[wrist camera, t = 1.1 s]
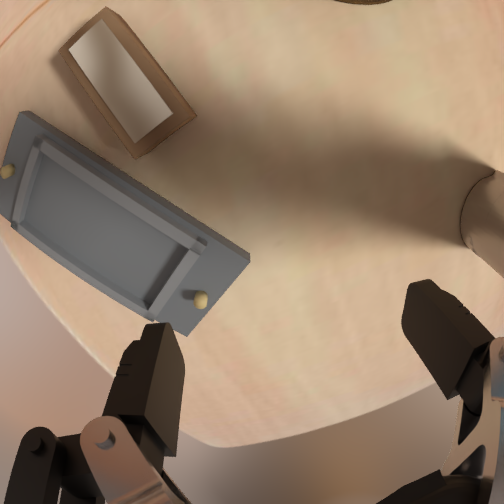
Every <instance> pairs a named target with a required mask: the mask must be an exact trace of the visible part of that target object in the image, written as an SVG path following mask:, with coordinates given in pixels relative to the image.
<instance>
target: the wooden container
mask: <svg viewBox="0 0 504 504" xmlns="http://www.w3.org/2000/svg"><path fill="white" fill-rule="evenodd" d="M337 1H341V2H346V3H352V4H363V5H372V4H381V3H385V2H389V1H392V0H337Z"/></svg>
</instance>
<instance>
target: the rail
mask: <svg viewBox="0 0 504 504" xmlns="http://www.w3.org/2000/svg"><path fill="white" fill-rule="evenodd" d="M0 214H1V215H2V216H4V217H5V218H6V219H7V220H8V221H10V222H11V227H12V228H13V229H14V230H16V231H17V232H18V233H19V234H21V235H22V236H23V237H24V238H26V239H27V240H28V241H29V242H31V243H32V244H33V245H35V246H36V247H37V248H39V249H40V250H41V251H43V252H44V253H45V254H47V255H48V256H49V257H51V258H52V259H54V260H55V261H56V262H58V263H59V264H61V265H62V266H63V267H65V268H66V269H68V270H69V271H71V272H72V273H73V274H75V275H76V276H78V277H79V278H81V279H82V280H84V281H85V282H87V283H88V284H90V285H92V286H93V287H95V288H96V289H98V290H99V291H101V292H102V293H104V294H106V295H107V296H109V297H110V298H112V299H114V300H115V301H117V302H119V303H120V304H122V305H124V306H125V307H127V308H129V309H130V310H132V311H134V312H136V313H137V314H139V315H141V316H143V317H144V318H146V319H148V320H150V321H151V322H153V321H154V320H156V321H158V322H160V323H164V322H169V323H170V324H171V326H172V329H173V330H175V331H177V332H179V333H181V334H182V335H184V336H186V337H187V336H188V335H189V334H190V333H191V331H192V330H193V329H194V328H195V327H196V325H197V324H198V323H199V322H200V321H201V320H202V318H203V317H204V316H205V315H206V314H207V313H208V311H209V310H210V309H211V308H212V307H213V305H214V304H215V303H216V302H217V301H218V300H219V298H220V297H221V296H222V295H223V294H224V292H225V291H226V290H227V289H228V288H229V287H230V285H231V284H232V283H233V282H234V281H235V279H236V278H237V277H238V276H239V275H240V274H241V272H242V271H243V270H244V269H245V268H246V266H247V265H248V264H249V263H250V253H248V252H246V251H245V250H243V249H242V248H240V247H239V246H237V245H236V244H234V243H232V242H231V241H229V240H228V239H226V238H225V237H223V236H222V235H220V234H219V233H217V232H215V231H214V230H212V229H211V228H209V227H208V226H206V225H205V224H203V223H201V222H200V221H198V220H197V219H195V218H194V217H192V216H191V215H189V214H188V213H186V212H184V211H183V210H181V209H180V208H178V207H177V206H175V205H174V204H172V203H171V202H169V201H167V200H166V199H164V198H163V197H161V196H160V195H158V194H157V193H155V192H154V191H152V190H150V189H149V188H147V187H146V186H144V185H143V184H141V183H140V182H138V181H137V180H135V179H133V178H132V177H130V176H129V175H127V174H126V173H124V172H123V171H121V170H120V169H118V168H116V167H115V166H113V165H112V164H110V163H109V162H107V161H106V160H104V159H103V158H101V157H100V156H98V155H96V154H95V153H93V152H92V151H90V150H89V149H87V148H86V147H84V146H83V145H81V144H80V143H78V142H76V141H75V140H73V139H72V138H70V137H69V136H67V135H66V134H64V133H63V132H61V131H60V130H58V129H57V128H55V127H53V126H52V125H50V124H49V123H47V122H46V121H44V120H43V119H41V118H40V117H38V116H37V115H35V114H34V113H32V112H30V111H23V112H19V115H18V118H17V120H16V123H15V126H14V129H13V132H12V135H11V138H10V141H9V144H8V148H7V151H6V154H5V158H4V162H3V165H2V168H1V170H0Z"/></svg>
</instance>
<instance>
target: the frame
mask: <svg viewBox="0 0 504 504" xmlns="http://www.w3.org/2000/svg"><path fill="white" fill-rule="evenodd" d="M59 52H60V54H61V55H62V57H63V58H64V60H65V61H66V63H67V64H68V66H69V67H70V69H71V70H72V72H73V73H74V75H75V76H76V78H77V79H78V81H79V82H80V84H81V85H82V87H83V88H84V89H85V91H86V92H87V94H88V95H89V97H90V98H91V99H92V101H93V102H94V104H95V105H96V107H97V108H98V109H99V111H100V112H101V114H102V115H103V116H104V118H105V119H106V121H107V122H108V123H109V125H110V126H111V128H112V129H113V130H114V132H115V133H116V135H117V136H118V137H119V139H120V140H121V141H122V143H123V144H124V146H125V147H126V148H127V150H128V151H129V152H130V154H131V155H132V156H133V158H134V159H137V158H139V157H141V156H143V155H145V154H147V153H148V152H150V151H151V150H152V149H153V148H155V147H156V146H157V145H158V144H160V143H161V142H162V141H164V140H165V139H166V138H168V137H169V136H170V135H172V134H173V133H174V132H176V131H177V130H178V129H180V128H181V127H182V126H184V125H185V124H186V123H188V122H189V121H191V120H192V119H194V118H195V117H196V116H197V115H196V114H195V113H194V111H193V110H192V109H191V107H190V106H189V104H188V103H187V102H186V100H185V99H184V98H183V96H182V95H181V94H180V92H179V91H178V89H177V88H176V87H175V85H174V84H173V83H172V81H171V80H170V79H169V77H168V76H167V75H166V73H165V72H164V71H163V69H162V68H161V67H160V65H159V64H158V63H157V62H156V60H155V59H154V58H153V56H152V55H151V54H150V52H149V51H148V50H147V48H146V47H145V46H144V45H143V43H142V42H141V41H140V39H139V38H138V37H137V36H136V34H135V33H134V32H133V31H132V29H131V28H130V27H129V25H128V24H127V23H126V22H125V20H124V19H123V18H122V17H121V16H120V15H118V14H117V13H115V12H114V11H112V10H111V9H109V8H108V7H105V8H103V9H102V10H101V11H100V12H99V13H97V14H96V15H95V16H94V17H93V18H92V19H91V20H89V21H88V22H87V23H86V24H85V25H84V26H83V27H82V28H81V29H80V30H79V31H77V32H76V33H75V34H74V35H73V36H72V37H71V38H70V39H69V40H68V41H67V42H66V43H65V44H64V45H63V46H62V47H61V49H60V50H59Z"/></svg>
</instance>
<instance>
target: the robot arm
mask: <svg viewBox="0 0 504 504" xmlns="http://www.w3.org/2000/svg"><path fill="white" fill-rule="evenodd" d="M461 235H462V239H463V241H464V243H465V244H466V245H467V246H468V247H469V248H470V249H471V250H472V251H473V252H474V253H475V254H476V255H478V256H479V257H480V258H482V259H483V260H484V261H485V262H486V263H487V264H488V265H490V266H491V267H492V268H493V269H494V270H495V271H496V272H497V273H499V274H500V275H501V276H502V277H503V278H504V173H502V172H500V171H498V170H496V171H495V173H494V174H493V175H492V176H490V177H486V178H484V179H482V180H480V181H479V182H478V183H477V184H476V185H475V186H474V187H473V189H472V190H471V191H470V193H469V195H468V197H467V199H466V202H465V204H464V207H463V211H462V215H461ZM401 323H402V329H403V332H404V335H405V336H406V338H407V339H408V340H409V342H410V343H411V345H412V346H413V348H414V349H415V351H416V352H417V354H418V355H419V357H420V358H421V360H422V361H423V363H424V364H425V366H426V367H427V369H428V370H429V372H430V373H431V375H432V376H433V378H434V379H435V381H436V383H437V384H438V386H439V387H440V389H441V390H442V392H443V394H444V395H445V397H446V398H447V400H449V399H450V398H453V397H455V396H457V395H460V396H461V400H460V402H459V405H458V412H457V419H456V425H455V431H454V437H453V442H452V447H451V451H450V453H449V456H448V457H447V459H446V461H445V463H444V465H443V467H442V469H441V471H440V470H437V471H435V472H433V473H431V474H429V475H427V476H425V477H422V478H420V479H418V480H416V481H414V482H411V483H409V484H407V485H404V486H403V487H401V488H400V489H398V490H397V491H395V492H394V493H392V494H391V495H389V496H388V497H386V498H385V499H383V500H381V501H380V502H378V503H376V504H504V337H499V338H495V337H494V336H493V335H492V334H491V333H490V332H489V331H488V330H487V329H486V328H485V327H484V326H483V325H482V323H481V322H480V321H479V320H478V319H477V318H476V317H475V316H474V315H473V314H472V313H471V314H470V311H469V310H468V309H467V308H466V307H465V306H464V307H463V304H462V303H461V302H460V301H459V300H458V299H457V298H456V297H455V296H453V295H452V294H450V293H448V292H446V291H444V290H441V289H440V288H439V287H438V286H437V285H436V284H435V283H434V282H433V281H432V280H430V279H426V280H422V281H418V282H413V283H410V284H409V286H408V289H407V294H406V299H405V305H404V310H403V314H402V321H401ZM184 377H185V364H184V359H183V355H182V353H181V350H180V347H179V345H178V342H177V339H176V337H175V334H174V331H173V329H172V326H171V324H170V323H169V322H164V323H153V324H146V325H145V327H144V330H143V333H142V336H141V339H140V340H134V341H133V342H132V343H131V344H130V345H129V346H128V347H127V349H126V350H125V351H124V353H123V355H122V358H121V361H120V366H118V369H117V372H116V377H115V378H114V381H113V384H112V387H111V390H110V393H109V396H108V399H107V402H106V405H105V408H104V411H103V414H102V416H101V417H98V418H95V419H93V420H92V421H90V422H89V423H88V424H87V425H86V426H85V427H84V429H83V430H82V432H81V433H80V434H75V435H69V436H63V437H56V436H55V435H54V434H53V433H52V432H51V431H50V430H49V429H47V428H45V427H35V428H33V429H31V430H29V431H28V432H27V433H26V434H25V435H24V437H23V438H22V440H21V443H20V446H19V449H18V452H17V455H16V458H15V462H14V465H13V469H12V472H11V476H10V480H9V484H8V488H7V492H6V496H5V501H4V504H57V501H58V495H59V490H60V488H62V491H61V498H60V503H59V504H105V500H106V502H107V503H108V504H192V503H191V502H190V501H189V500H188V498H187V497H186V496H185V495H184V494H183V492H182V491H181V490H180V489H179V487H178V486H177V485H176V484H175V483H174V481H173V480H172V479H171V477H170V476H169V475H168V473H167V472H166V471H165V469H164V468H163V461H164V456H169V457H176V451H177V440H178V430H179V420H180V411H181V402H182V393H183V385H184Z"/></svg>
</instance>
